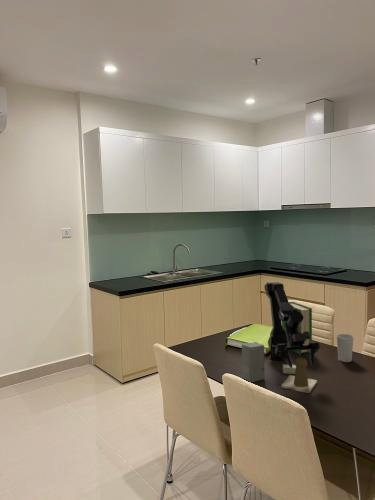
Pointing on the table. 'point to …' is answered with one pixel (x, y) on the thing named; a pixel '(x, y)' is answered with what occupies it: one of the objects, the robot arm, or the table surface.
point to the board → (290, 385)
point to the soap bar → (289, 369)
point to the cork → (301, 373)
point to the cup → (345, 347)
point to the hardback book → (303, 323)
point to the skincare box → (253, 362)
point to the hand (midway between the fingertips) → (302, 367)
